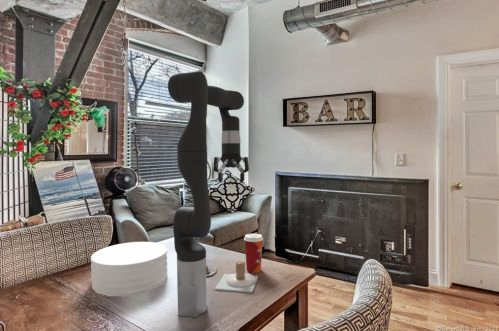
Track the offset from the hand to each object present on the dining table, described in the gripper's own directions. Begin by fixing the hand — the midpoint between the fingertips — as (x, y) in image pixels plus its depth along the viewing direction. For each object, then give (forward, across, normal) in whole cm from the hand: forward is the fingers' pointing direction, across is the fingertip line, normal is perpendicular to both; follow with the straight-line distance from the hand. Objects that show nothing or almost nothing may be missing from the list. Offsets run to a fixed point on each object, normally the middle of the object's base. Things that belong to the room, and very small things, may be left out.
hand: (231, 182), depth 130 cm
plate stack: (+38, -38, -12) cm, 56 cm away
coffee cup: (+38, +8, +6) cm, 40 cm away
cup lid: (+38, +5, -7) cm, 38 cm away
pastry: (+39, -13, 0) cm, 41 cm away
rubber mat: (+38, +4, -8) cm, 39 cm away
